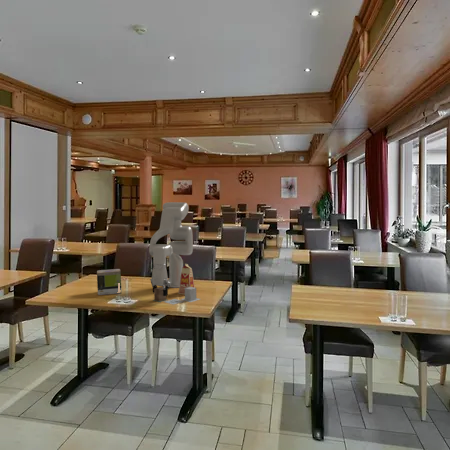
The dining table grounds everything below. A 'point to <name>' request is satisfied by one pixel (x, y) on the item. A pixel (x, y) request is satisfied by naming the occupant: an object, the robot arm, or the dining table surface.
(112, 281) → the tea box
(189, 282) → the milk carton
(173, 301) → the code tile
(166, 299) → the coaster
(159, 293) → the walnut block
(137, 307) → the dining table surface
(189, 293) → the grey block
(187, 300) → the code tile
